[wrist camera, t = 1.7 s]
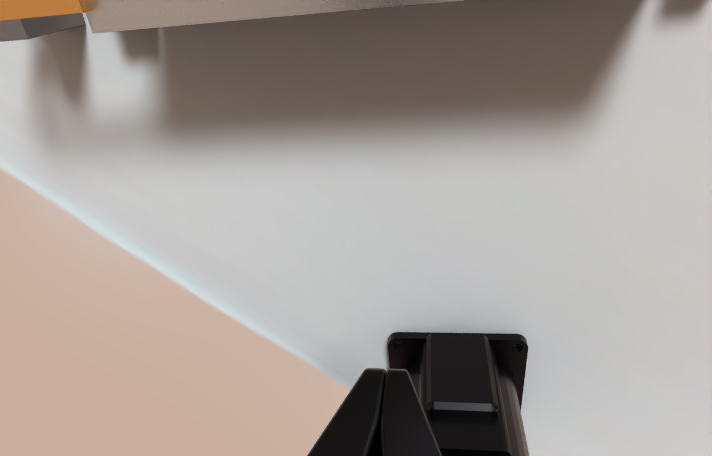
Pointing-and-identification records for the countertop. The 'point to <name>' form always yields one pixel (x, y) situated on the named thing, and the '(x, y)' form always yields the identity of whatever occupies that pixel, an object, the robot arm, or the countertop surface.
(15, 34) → the gauge scale
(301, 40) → the countertop surface
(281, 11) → the gauge plunger
